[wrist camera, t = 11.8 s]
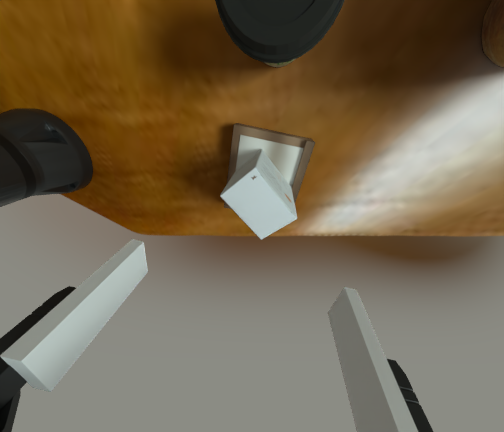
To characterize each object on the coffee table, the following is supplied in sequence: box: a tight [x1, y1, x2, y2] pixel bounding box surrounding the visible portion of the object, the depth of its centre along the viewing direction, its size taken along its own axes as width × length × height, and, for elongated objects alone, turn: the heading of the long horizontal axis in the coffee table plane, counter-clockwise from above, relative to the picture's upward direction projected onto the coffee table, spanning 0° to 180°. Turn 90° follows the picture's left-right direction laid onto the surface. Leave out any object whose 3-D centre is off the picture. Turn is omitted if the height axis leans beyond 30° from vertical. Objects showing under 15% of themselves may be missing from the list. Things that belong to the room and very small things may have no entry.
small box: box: [220, 149, 297, 239], centre depth 26 cm, size 8×6×10 cm
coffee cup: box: [215, 0, 344, 67], centre depth 18 cm, size 10×10×15 cm
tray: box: [224, 123, 315, 209], centre depth 32 cm, size 12×14×4 cm
